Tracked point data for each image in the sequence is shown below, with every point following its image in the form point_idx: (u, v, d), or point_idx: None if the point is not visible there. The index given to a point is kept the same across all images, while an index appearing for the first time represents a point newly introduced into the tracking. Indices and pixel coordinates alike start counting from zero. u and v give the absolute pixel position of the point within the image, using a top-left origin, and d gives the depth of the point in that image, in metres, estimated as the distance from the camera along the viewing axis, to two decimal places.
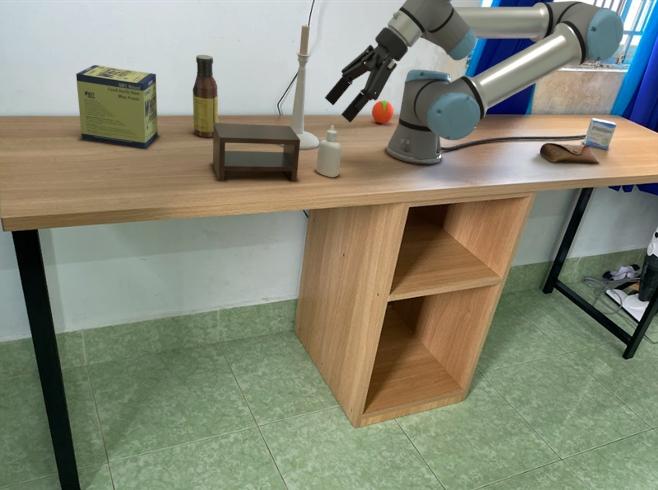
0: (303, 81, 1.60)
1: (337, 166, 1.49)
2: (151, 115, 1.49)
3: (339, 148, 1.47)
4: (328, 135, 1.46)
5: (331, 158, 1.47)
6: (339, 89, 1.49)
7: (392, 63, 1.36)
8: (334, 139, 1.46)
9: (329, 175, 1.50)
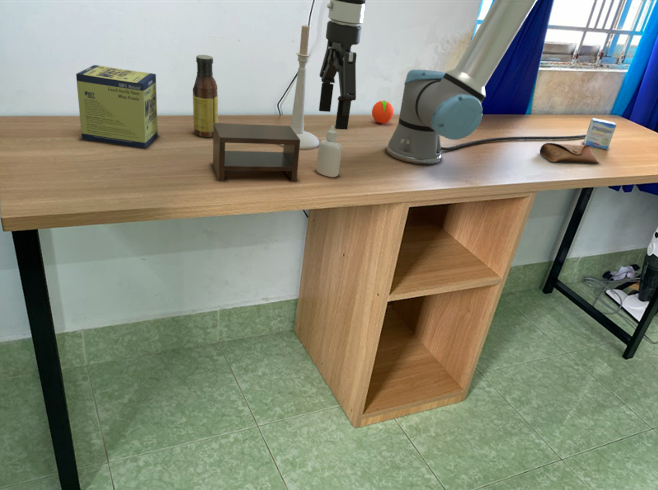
0: (303, 81, 1.60)
1: (337, 166, 1.49)
2: (151, 115, 1.49)
3: (339, 148, 1.47)
4: (328, 135, 1.46)
5: (331, 158, 1.47)
6: (326, 95, 1.47)
7: (350, 55, 1.31)
8: (334, 139, 1.46)
9: (329, 175, 1.50)
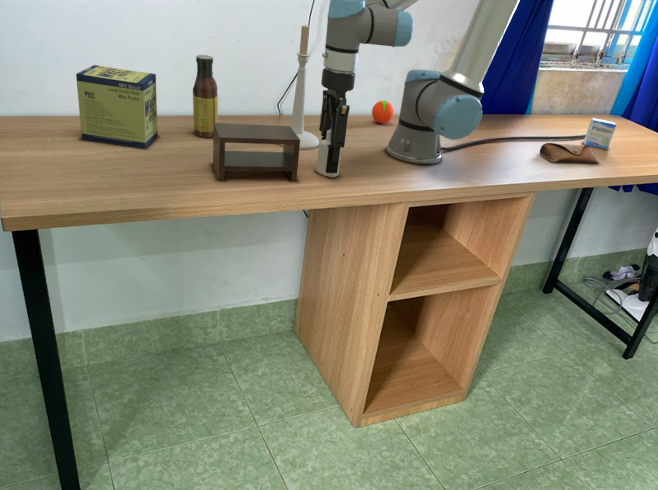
0: (303, 81, 1.60)
1: None
2: (151, 115, 1.49)
3: None
4: (328, 135, 1.46)
5: None
6: None
7: (343, 109, 1.37)
8: None
9: (329, 175, 1.50)
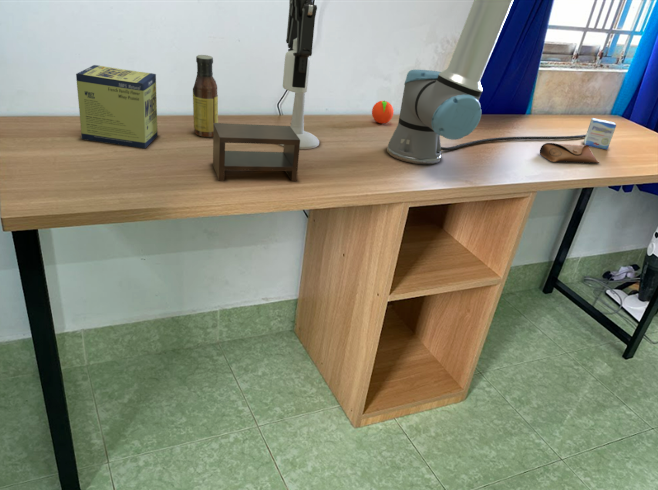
0: None
1: None
2: (151, 115, 1.49)
3: None
4: (295, 44, 1.32)
5: None
6: None
7: (310, 9, 1.24)
8: None
9: (296, 91, 1.36)
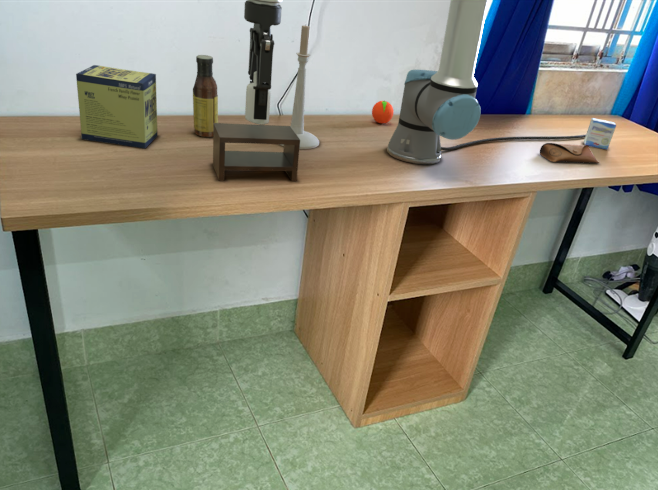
0: (303, 81, 1.60)
1: None
2: (151, 115, 1.49)
3: None
4: (255, 77, 1.33)
5: None
6: None
7: (267, 45, 1.25)
8: None
9: (258, 122, 1.37)
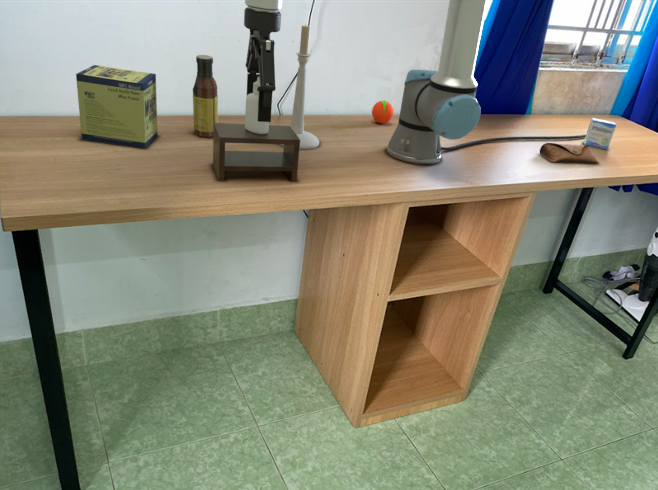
0: (303, 81, 1.60)
1: (265, 122, 1.37)
2: (151, 115, 1.49)
3: None
4: (254, 87, 1.34)
5: None
6: None
7: (267, 43, 1.24)
8: None
9: (258, 132, 1.38)
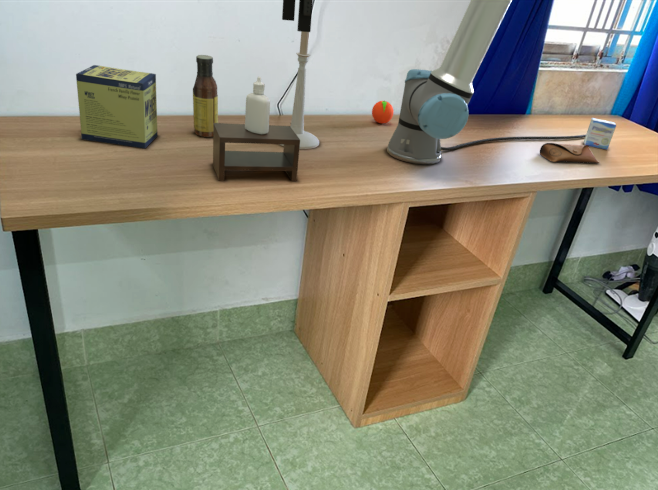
0: (303, 81, 1.60)
1: (265, 122, 1.37)
2: (151, 115, 1.49)
3: (267, 102, 1.35)
4: (254, 87, 1.34)
5: (258, 113, 1.36)
6: (289, 2, 1.41)
7: None
8: (261, 92, 1.35)
9: (258, 132, 1.38)
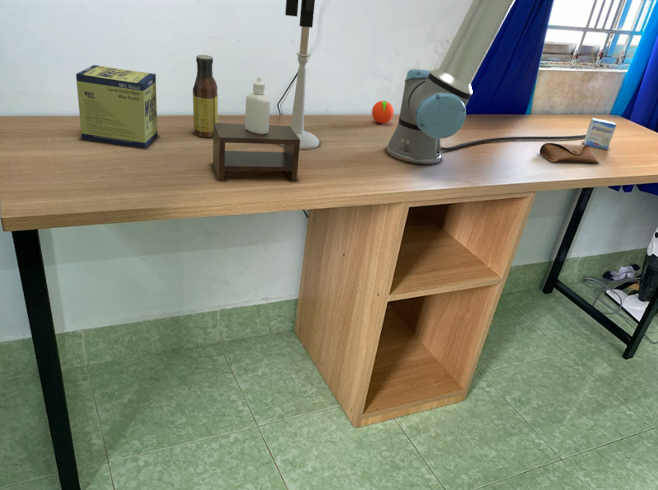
0: (303, 81, 1.60)
1: (265, 122, 1.37)
2: (151, 115, 1.49)
3: (267, 102, 1.35)
4: (254, 87, 1.34)
5: (258, 113, 1.36)
6: None
7: None
8: (261, 92, 1.35)
9: (258, 132, 1.38)
